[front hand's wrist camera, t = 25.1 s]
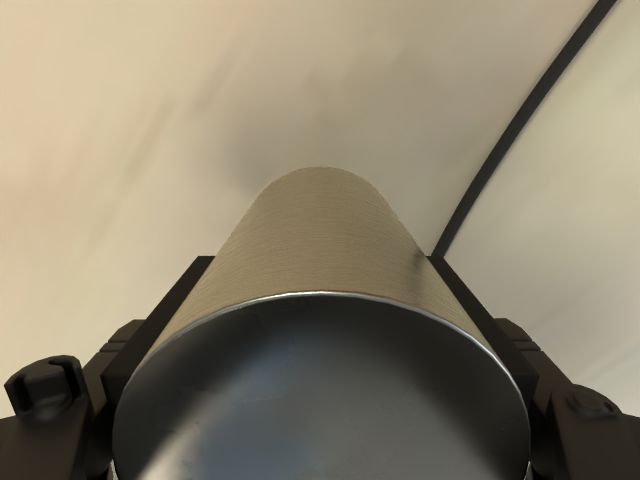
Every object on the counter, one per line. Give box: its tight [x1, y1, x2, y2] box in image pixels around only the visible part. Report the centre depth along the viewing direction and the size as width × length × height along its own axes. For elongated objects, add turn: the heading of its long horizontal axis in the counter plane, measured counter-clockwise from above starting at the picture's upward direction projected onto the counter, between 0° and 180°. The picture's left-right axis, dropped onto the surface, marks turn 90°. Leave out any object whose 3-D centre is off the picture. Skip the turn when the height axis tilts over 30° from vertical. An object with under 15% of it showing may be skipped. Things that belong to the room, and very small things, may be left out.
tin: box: [112, 167, 531, 480], centre depth 12 cm, size 8×8×12 cm
